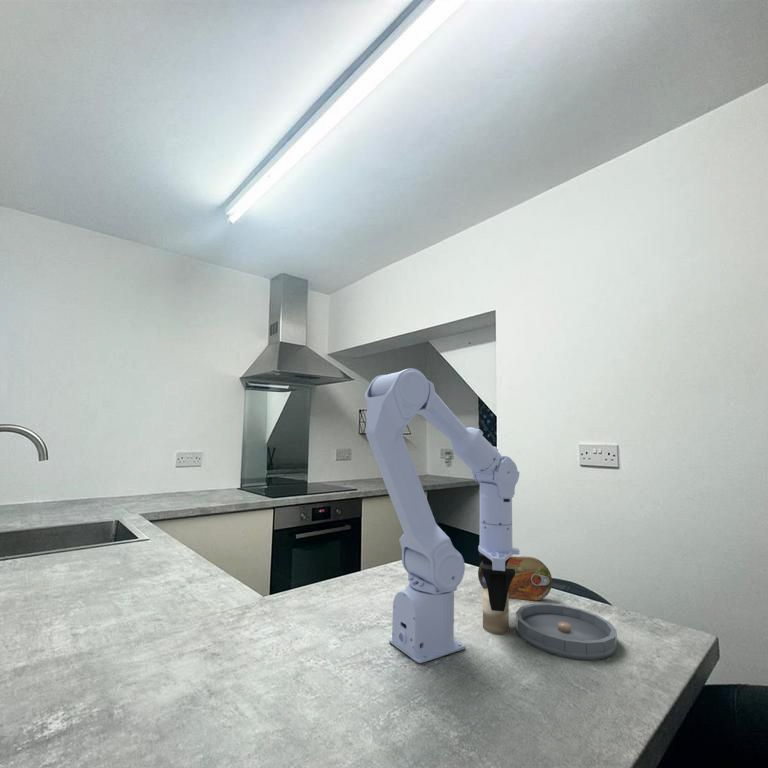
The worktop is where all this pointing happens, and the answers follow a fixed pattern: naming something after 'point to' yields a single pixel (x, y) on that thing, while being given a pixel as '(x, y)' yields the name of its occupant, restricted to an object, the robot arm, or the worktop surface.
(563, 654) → the round tray
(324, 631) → the worktop surface
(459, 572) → the robot arm
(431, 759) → the worktop surface
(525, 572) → the tin
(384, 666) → the worktop surface
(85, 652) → the worktop surface
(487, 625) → the beige cylinder
